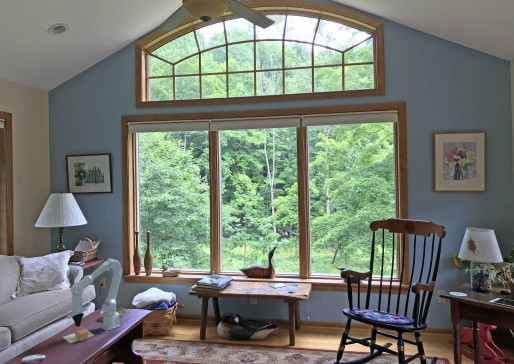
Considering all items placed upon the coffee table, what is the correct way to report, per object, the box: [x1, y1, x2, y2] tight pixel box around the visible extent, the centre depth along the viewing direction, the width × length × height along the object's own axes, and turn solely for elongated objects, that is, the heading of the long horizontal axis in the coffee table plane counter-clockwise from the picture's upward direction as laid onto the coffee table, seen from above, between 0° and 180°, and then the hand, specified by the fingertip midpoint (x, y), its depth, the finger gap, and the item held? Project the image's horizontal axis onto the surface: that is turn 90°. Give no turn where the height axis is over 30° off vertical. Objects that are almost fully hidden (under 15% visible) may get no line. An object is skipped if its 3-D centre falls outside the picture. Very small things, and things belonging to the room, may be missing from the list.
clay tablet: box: [98, 307, 126, 322], centre depth 260 cm, size 14×5×20 cm
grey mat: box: [62, 330, 95, 344], centre depth 227 cm, size 14×12×1 cm
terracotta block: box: [74, 327, 89, 342], centre depth 224 cm, size 4×4×8 cm
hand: (77, 326), depth 227 cm, fingers closed
